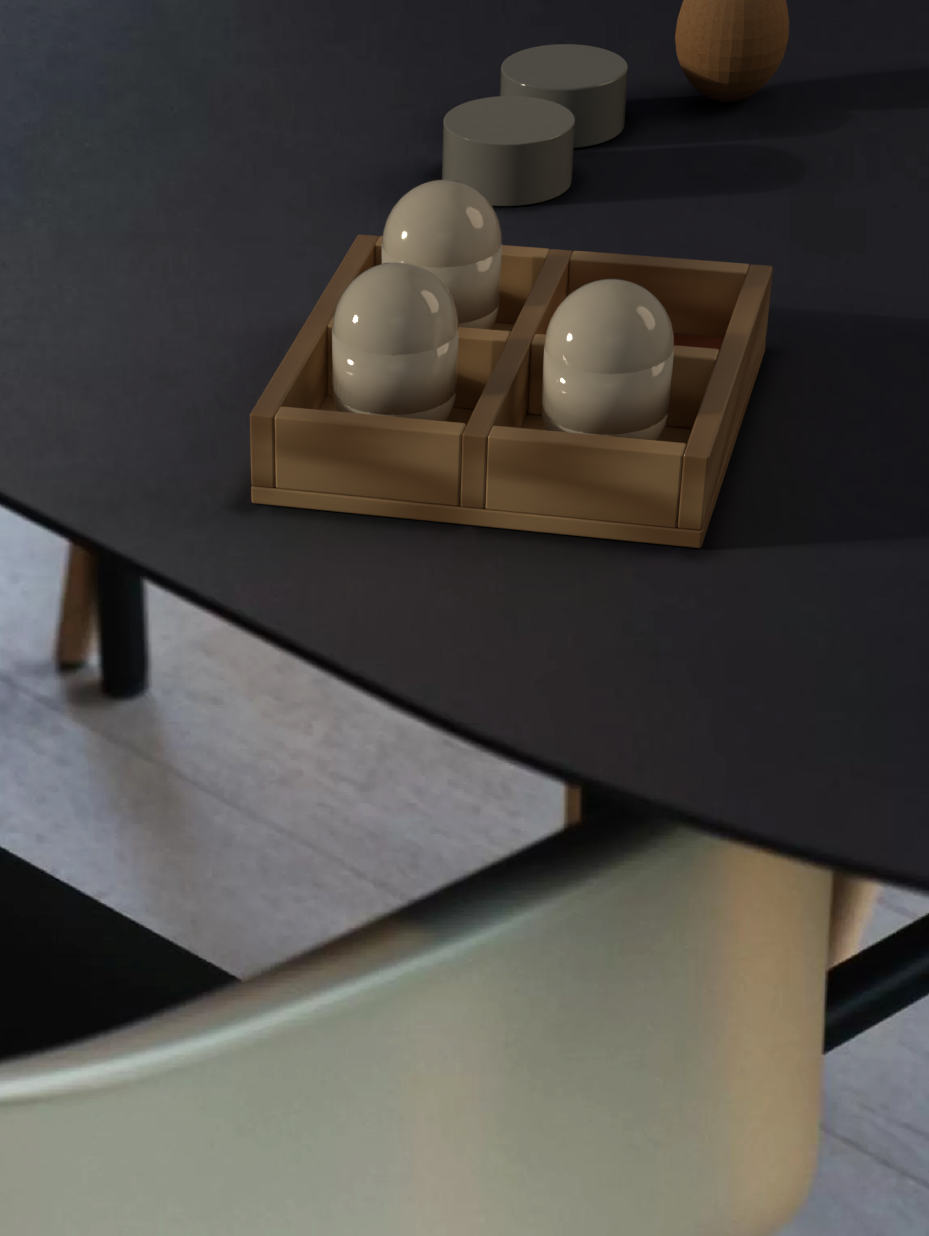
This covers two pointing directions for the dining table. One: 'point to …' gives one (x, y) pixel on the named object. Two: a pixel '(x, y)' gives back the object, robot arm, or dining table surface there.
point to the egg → (731, 45)
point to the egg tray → (524, 412)
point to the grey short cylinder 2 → (573, 86)
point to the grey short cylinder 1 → (510, 148)
